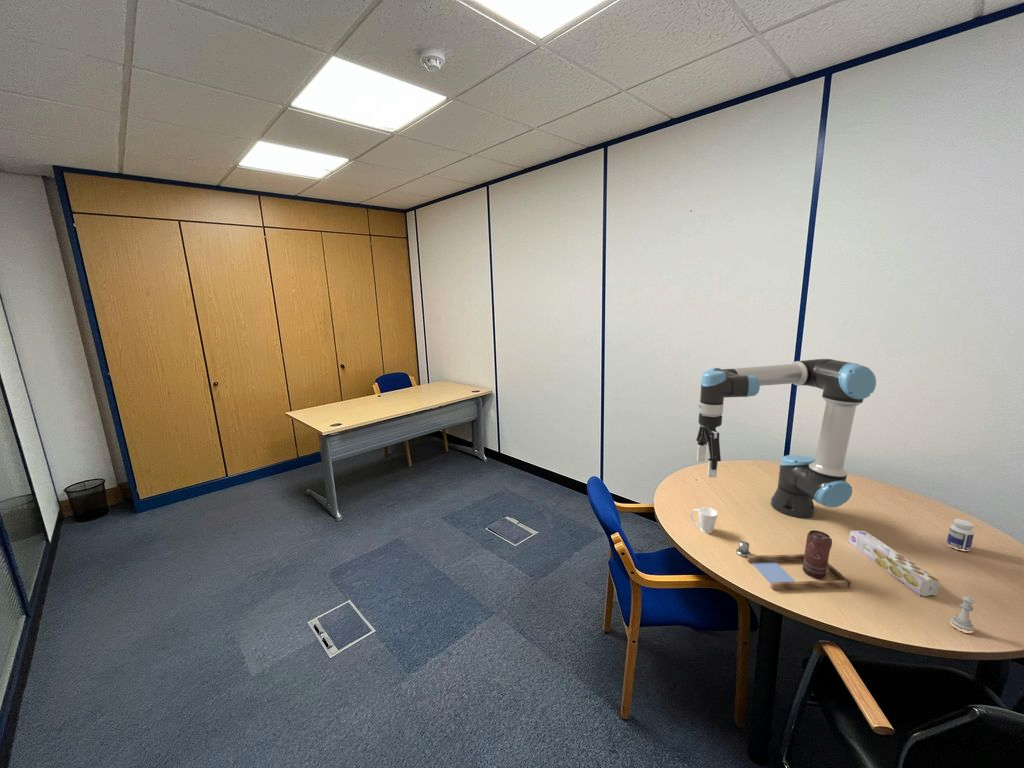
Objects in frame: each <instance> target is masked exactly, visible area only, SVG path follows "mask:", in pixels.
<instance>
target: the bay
mask: <svg viewBox="0 0 1024 768" xmlns="http://www.w3.org/2000/svg"><path fill="white" fill-rule="evenodd" d="M804 554H805V553H803V554H801V553H800V554H799V553H797V554H773V555H771V554H770V555H769V554H768V555H765V554H763V555H762V554H761V555H751V556H748V557H747V558H746V561H747V563H749V564H750V563H751V564H752V563H754V562H777V563H788V562H789V563H791V562H795V563H796V562H797V563H798V562H803V561H804ZM826 572H828V573H829V574H830V575H831V576H832V577H833V578H835V579H836V580H806V581H803V580H801V581H795V582H772V583H771V584H770V588H771V590H772V591H782V590H783V591H786V590H787V591H788V590H790V591H792V590H821V589H822V590H823V589H825V590H826V589H828V590H829V589H830V590H831V589H850V588H851V585H852V581H850V580H849V579H848V578H846V576H845V575H843V574H842V573H841V572H840V571H838V570H837V569H836V568H835V567H833V565H831V564H830V563H829V562H828V565H827V571H826Z"/></svg>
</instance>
